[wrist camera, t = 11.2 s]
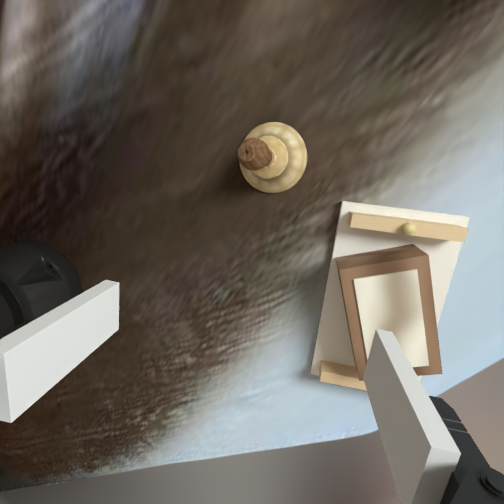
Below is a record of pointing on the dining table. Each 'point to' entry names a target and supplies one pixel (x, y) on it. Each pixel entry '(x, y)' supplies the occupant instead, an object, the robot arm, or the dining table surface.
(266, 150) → the hand bell
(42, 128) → the dining table surface
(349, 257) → the frame
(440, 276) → the wall panel
